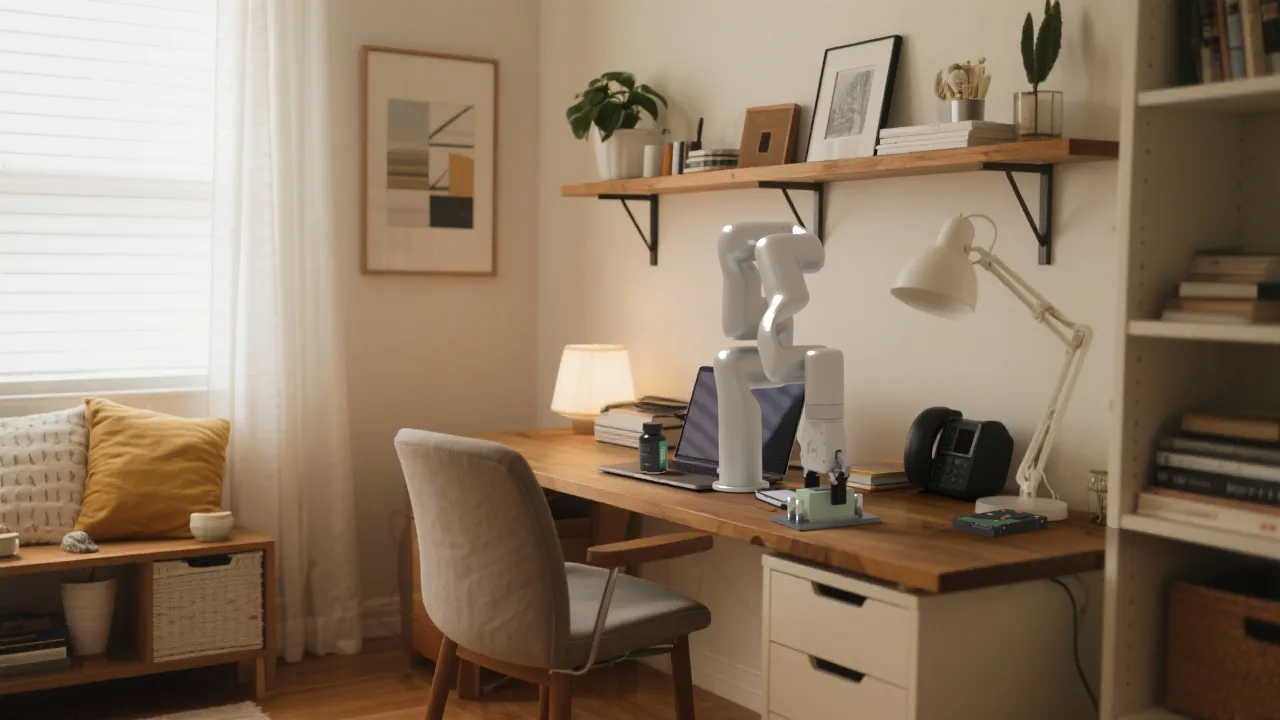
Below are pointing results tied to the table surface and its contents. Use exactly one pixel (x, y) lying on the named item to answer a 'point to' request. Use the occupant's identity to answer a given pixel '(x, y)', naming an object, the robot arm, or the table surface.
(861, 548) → the table surface
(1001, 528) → the disk drive
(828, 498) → the block
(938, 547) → the table surface
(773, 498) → the gaming console
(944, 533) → the table surface
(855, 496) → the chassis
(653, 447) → the supplement bottle
